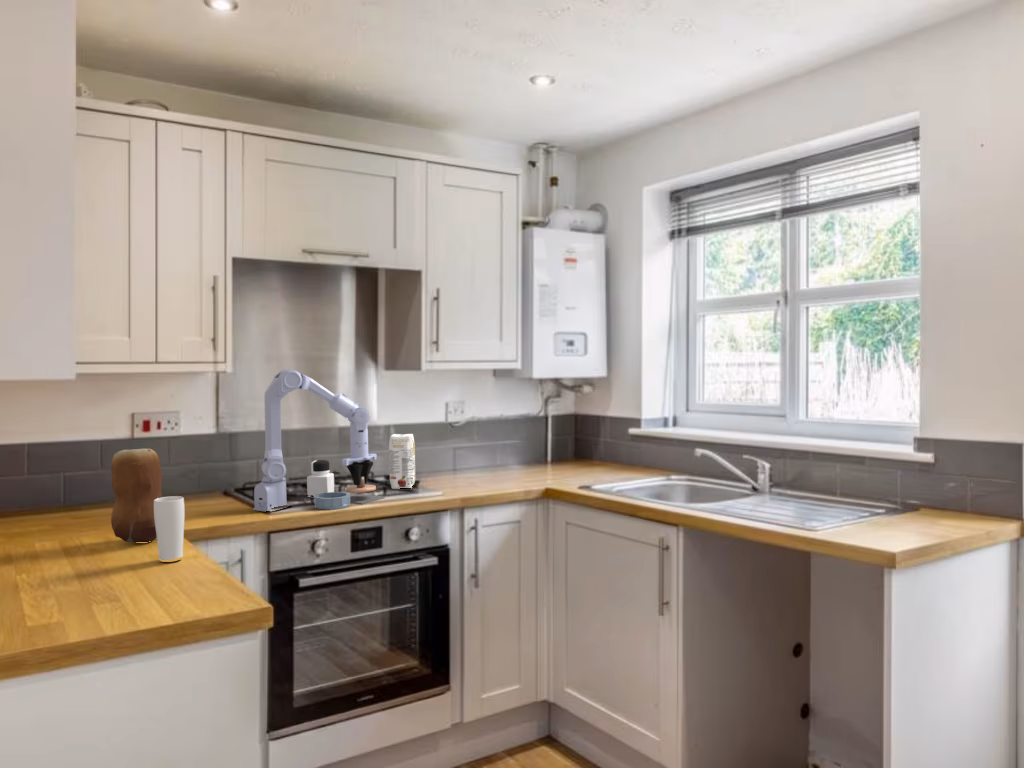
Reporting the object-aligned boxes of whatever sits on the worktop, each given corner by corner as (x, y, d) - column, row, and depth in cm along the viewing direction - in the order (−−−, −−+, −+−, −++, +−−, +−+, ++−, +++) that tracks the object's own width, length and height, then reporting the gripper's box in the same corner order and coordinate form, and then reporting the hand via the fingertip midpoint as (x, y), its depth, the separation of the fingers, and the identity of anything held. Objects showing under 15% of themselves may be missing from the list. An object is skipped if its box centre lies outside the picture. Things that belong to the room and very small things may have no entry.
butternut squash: (142, 534, 213) (138, 444, 212) (180, 538, 208) (177, 445, 207) (99, 547, 200) (95, 450, 199) (138, 551, 196) (134, 452, 194)
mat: (361, 504, 249) (361, 502, 249) (336, 501, 255) (336, 499, 255) (384, 498, 259) (384, 496, 259) (359, 495, 265) (359, 493, 265)
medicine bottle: (334, 493, 268) (333, 459, 268) (327, 497, 261) (326, 462, 260) (314, 493, 269) (313, 459, 268) (307, 497, 262) (306, 462, 261)
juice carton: (413, 489, 273) (412, 435, 272) (388, 489, 273) (387, 436, 272) (416, 485, 281) (415, 433, 280) (392, 485, 281) (391, 433, 280)
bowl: (332, 511, 240) (332, 499, 240) (307, 507, 245) (307, 496, 245) (357, 504, 249) (356, 493, 249) (332, 501, 255) (331, 490, 254)
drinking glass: (191, 560, 187) (189, 498, 186) (163, 566, 182) (160, 502, 181) (178, 555, 192) (176, 494, 191) (150, 561, 187) (148, 499, 186)
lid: (362, 493, 250) (362, 480, 250) (338, 491, 255) (338, 478, 255) (382, 488, 259) (381, 475, 259) (359, 486, 264) (358, 473, 263)
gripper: (353, 446, 248) (354, 488, 248) (383, 441, 260) (384, 481, 261) (336, 445, 251) (338, 487, 252) (367, 440, 264) (368, 479, 265)
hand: (360, 484), depth 257 cm, fingers closed on lid, 3 cm apart
